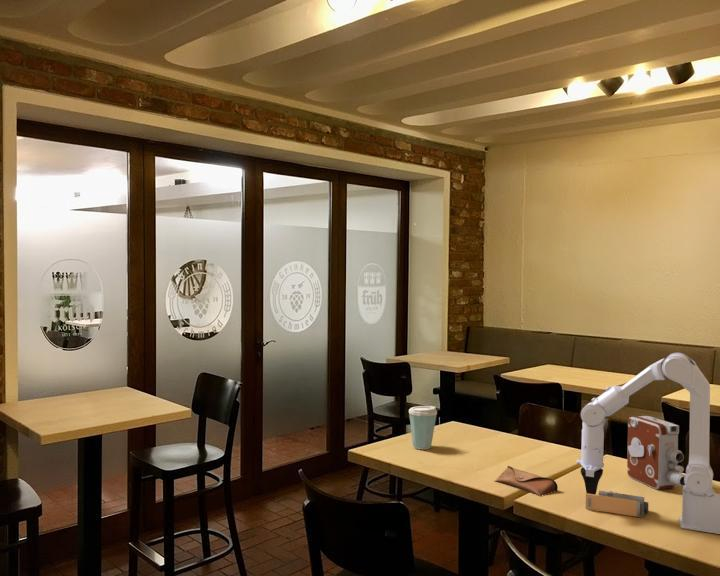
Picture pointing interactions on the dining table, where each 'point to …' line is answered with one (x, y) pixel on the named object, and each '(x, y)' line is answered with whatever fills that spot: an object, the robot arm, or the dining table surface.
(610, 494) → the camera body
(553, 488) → the sunglasses case
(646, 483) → the cine camera
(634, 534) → the dining table surface
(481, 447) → the dining table surface
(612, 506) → the side door
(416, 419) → the disposable coffee cup
